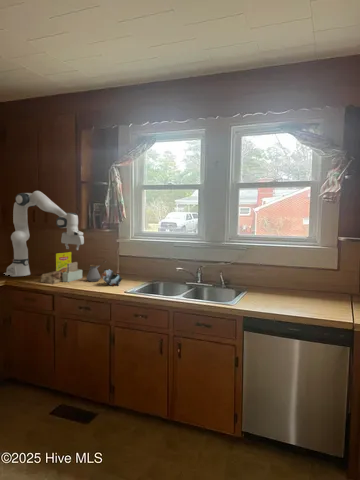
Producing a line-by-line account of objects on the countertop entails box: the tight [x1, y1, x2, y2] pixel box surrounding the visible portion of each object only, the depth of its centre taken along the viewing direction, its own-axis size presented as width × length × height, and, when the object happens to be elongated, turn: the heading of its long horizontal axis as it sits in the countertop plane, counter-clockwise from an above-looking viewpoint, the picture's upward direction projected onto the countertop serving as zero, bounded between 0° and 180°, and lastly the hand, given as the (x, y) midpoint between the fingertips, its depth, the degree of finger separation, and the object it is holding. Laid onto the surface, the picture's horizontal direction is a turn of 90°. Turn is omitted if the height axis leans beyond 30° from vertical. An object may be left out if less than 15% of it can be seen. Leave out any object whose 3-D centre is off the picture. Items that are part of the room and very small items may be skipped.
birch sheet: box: [67, 261, 79, 273], centre depth 286 cm, size 2×11×14 cm, turn 159°
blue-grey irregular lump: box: [101, 268, 123, 287], centre depth 271 cm, size 15×12×14 cm
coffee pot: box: [86, 260, 107, 283], centre depth 288 cm, size 21×12×15 cm, turn 152°
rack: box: [40, 270, 63, 284], centre depth 282 cm, size 13×18×6 cm
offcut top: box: [53, 270, 62, 278], centre depth 280 cm, size 5×10×4 cm, turn 8°
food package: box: [55, 251, 72, 273], centre depth 302 cm, size 15×1×20 cm, turn 143°
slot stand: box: [62, 268, 83, 283], centre depth 286 cm, size 5×18×7 cm, turn 159°
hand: (72, 249), depth 284 cm, fingers open, 8 cm apart
